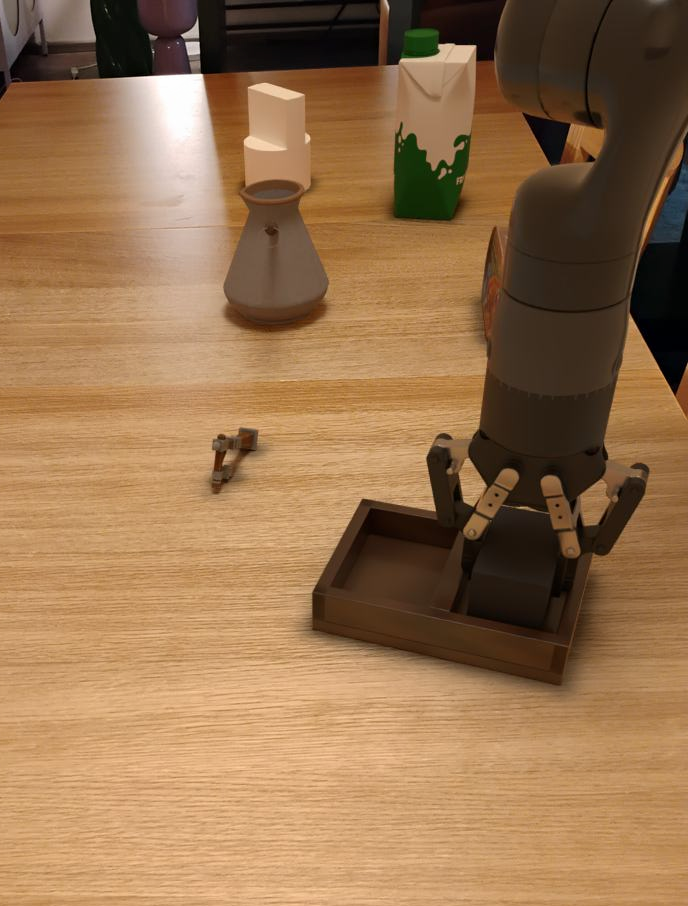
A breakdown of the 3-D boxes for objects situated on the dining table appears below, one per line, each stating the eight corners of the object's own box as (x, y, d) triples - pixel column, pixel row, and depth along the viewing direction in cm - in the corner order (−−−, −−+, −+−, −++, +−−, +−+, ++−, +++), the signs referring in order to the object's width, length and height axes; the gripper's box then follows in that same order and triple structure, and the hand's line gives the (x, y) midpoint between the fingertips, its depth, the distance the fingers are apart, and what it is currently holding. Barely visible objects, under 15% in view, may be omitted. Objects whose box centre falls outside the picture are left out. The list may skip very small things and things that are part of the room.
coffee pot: (227, 289, 118) (219, 152, 108) (327, 285, 117) (328, 146, 107) (216, 380, 103) (205, 230, 92) (332, 376, 101) (333, 224, 91)
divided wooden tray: (587, 577, 76) (596, 539, 74) (560, 685, 68) (569, 647, 66) (360, 534, 82) (362, 497, 80) (311, 628, 74) (311, 592, 72)
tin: (479, 289, 113) (488, 212, 108) (509, 289, 113) (519, 212, 107) (487, 354, 103) (497, 272, 97) (520, 354, 102) (532, 271, 96)
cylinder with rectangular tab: (324, 185, 141) (324, 89, 133) (271, 203, 137) (268, 105, 129) (284, 170, 146) (282, 77, 138) (232, 186, 143) (227, 92, 135)
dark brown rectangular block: (560, 561, 74) (569, 516, 71) (540, 632, 69) (549, 586, 66) (490, 548, 76) (497, 504, 73) (465, 616, 70) (471, 571, 68)
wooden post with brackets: (200, 487, 87) (205, 434, 86) (234, 474, 94) (240, 424, 93) (220, 491, 86) (225, 437, 85) (253, 477, 94) (258, 427, 92)
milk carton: (399, 195, 136) (408, 23, 123) (468, 198, 134) (485, 23, 120) (385, 220, 130) (393, 42, 117) (458, 223, 128) (474, 42, 114)
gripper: (689, 345, 61) (629, 570, 72) (447, 317, 65) (427, 532, 77) (677, 408, 56) (615, 639, 67) (417, 373, 60) (400, 594, 72)
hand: (515, 581), depth 72 cm, fingers closed on dark brown rectangular block, 5 cm apart
